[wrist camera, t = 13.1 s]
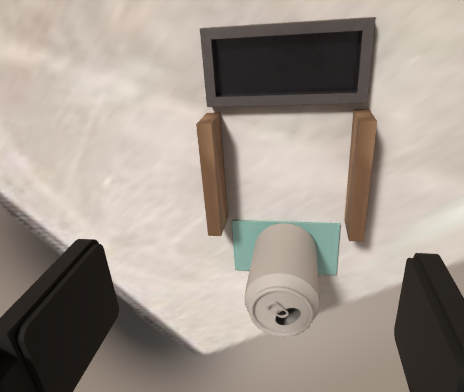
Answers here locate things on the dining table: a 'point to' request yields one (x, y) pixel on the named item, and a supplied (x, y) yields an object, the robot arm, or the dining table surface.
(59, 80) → the dining table surface
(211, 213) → the wooden corridor walls
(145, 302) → the dining table surface
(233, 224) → the pad
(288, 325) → the can
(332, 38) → the tray
